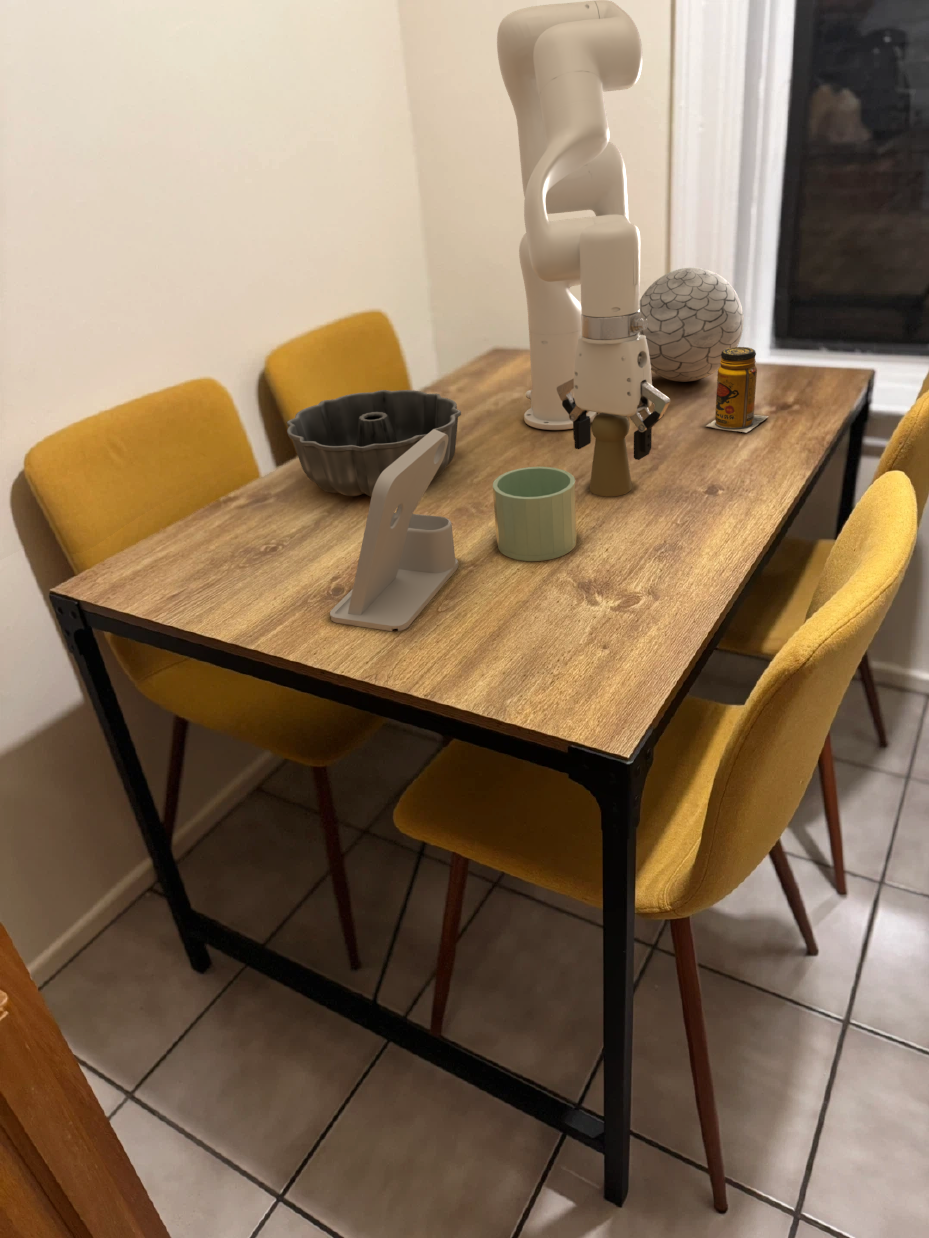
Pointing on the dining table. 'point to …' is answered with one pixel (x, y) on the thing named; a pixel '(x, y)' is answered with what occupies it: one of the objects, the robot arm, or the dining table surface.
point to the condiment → (736, 391)
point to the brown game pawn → (610, 456)
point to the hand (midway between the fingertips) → (611, 451)
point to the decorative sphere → (690, 323)
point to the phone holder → (401, 545)
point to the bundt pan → (367, 435)
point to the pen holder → (535, 513)
